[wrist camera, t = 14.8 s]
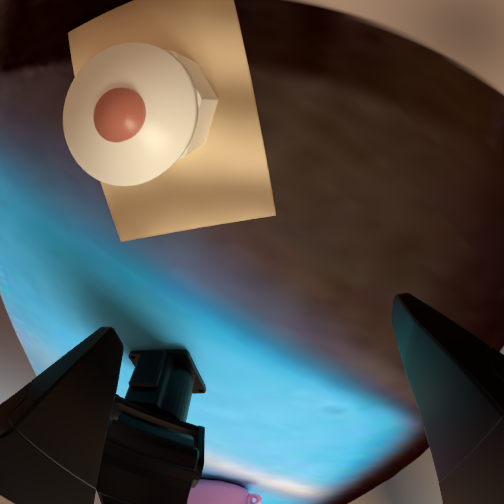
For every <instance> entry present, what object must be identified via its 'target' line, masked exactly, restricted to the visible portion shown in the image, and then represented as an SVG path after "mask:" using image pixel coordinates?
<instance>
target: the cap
mask: <svg viewBox="0 0 504 504" xmlns="http://www.w3.org/2000/svg"><path fill="white" fill-rule="evenodd" d="M217 103H218V98H217V96H216V94H215V93H214V91H213V89H212V87H211V86H210V84H209V82H208V81H207V79H206V77H205V75H204V74H203V72H202V70H201V69H200V67H199V65H198V64H197V63H196V62H194V61H192V60H190V59H188V58H186V57H184V56H182V55H180V54H178V53H176V52H174V51H170V50H164V49H161V48H158V47H156V46H153V45H150V44H145V43H137V42H130V43H122V44H118V45H115V46H112V47H109V48H107V49H105V50H103V51H101V52H100V53H98V54H97V55H95V56H94V57H93V58H91V59H90V60H89V61H88V62H87V63H86V64H85V65H84V66H83V67H82V68H81V70H80V71H79V72H78V73H77V75H76V77H75V78H74V80H73V82H72V84H71V86H70V88H69V90H68V93H67V96H66V100H65V104H64V111H63V128H64V134H65V139H66V142H67V145H68V148H69V150H70V152H71V154H72V156H73V157H74V159H75V160H76V162H77V163H78V164H79V165H80V166H81V168H82V169H83V170H85V171H86V172H87V173H88V174H89V175H91V176H92V177H94V178H95V179H97V180H99V181H101V182H104V183H107V184H110V185H115V186H133V185H138V184H142V183H145V182H147V181H150V180H152V179H154V178H156V177H157V176H159V175H160V174H162V173H163V172H164V171H166V170H167V169H168V168H170V167H171V166H172V165H173V164H174V163H175V162H177V161H178V160H180V159H182V158H183V157H185V156H187V155H188V154H189V153H191V152H192V151H194V150H195V149H196V148H198V147H199V146H201V145H202V144H204V143H205V142H206V140H207V136H208V133H209V129H210V126H211V123H212V119H213V116H214V113H215V109H216V106H217Z"/></svg>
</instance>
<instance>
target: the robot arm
mask: <svg viewBox="0 0 504 504" xmlns="http://www.w3.org/2000/svg"><path fill="white" fill-rule="evenodd" d="M392 324H393V328H394V331H395V335H396V339H397V343H398V346H399V350H400V354H401V359H402V362H403V366H404V369H405V372H406V375H407V377H408V380H409V383H410V386H411V389H412V392H413V395H414V398H415V400H416V404H417V407H418V410H419V413H420V416H421V419H422V422H423V426H424V429H425V432H426V436H427V439H428V443H429V446H430V449H431V453H432V457H433V461H434V465H435V469H436V472H437V477H438V481H439V486H440V491H441V496H442V500H443V504H504V355H503V354H502V353H500V352H499V351H497V350H496V349H494V348H493V347H492V348H491V346H490V345H488V344H487V343H485V342H484V341H482V340H481V339H479V338H478V337H476V336H475V335H473V334H472V333H470V332H469V331H467V330H466V329H464V328H463V327H461V326H460V325H458V324H457V323H455V322H454V321H452V320H450V319H449V318H447V317H446V316H444V315H443V314H441V313H440V312H438V311H436V310H435V309H433V308H432V307H430V306H429V305H427V304H425V303H424V302H422V301H421V300H419V299H417V298H416V297H414V296H412V295H411V294H409V293H402V294H397V295H396V296H395V297H394V302H393V310H392ZM123 350H124V349H123V344H122V342H121V340H120V338H119V337H118V335H117V333H116V332H115V330H114V329H113V328H112V327H101V328H99V329H98V330H97V331H95V332H94V333H93V334H91V335H90V336H89V337H87V338H86V339H85V340H83V341H82V342H81V343H80V344H78V345H77V346H76V347H74V348H73V349H72V350H70V351H69V352H68V353H67V354H65V355H64V356H63V357H61V358H60V359H59V360H57V361H56V362H55V363H54V364H52V365H51V366H50V367H48V368H47V369H46V370H45V371H43V372H42V373H41V374H40V375H38V376H37V377H36V378H35V379H33V380H32V381H31V382H30V383H28V384H27V385H26V386H24V387H23V388H22V389H21V390H19V391H18V392H17V393H15V394H14V395H13V396H11V397H10V398H9V399H7V400H6V401H4V402H3V403H2V404H0V504H94V499H95V493H96V490H97V492H98V495H99V498H100V501H101V503H102V504H187V501H188V496H189V493H190V490H191V488H195V487H196V485H197V484H198V482H199V480H200V477H201V474H202V471H203V466H204V434H205V427H202V426H196V425H193V424H190V423H187V422H186V419H187V414H188V410H189V405H190V400H191V396H192V393H205V392H206V387H205V385H204V383H203V381H202V379H201V377H200V375H199V373H198V371H197V369H196V367H195V365H194V363H193V361H192V359H191V357H190V354H189V353H188V352H187V351H185V350H167V351H131V352H130V353H129V358H130V360H131V361H132V363H133V364H134V366H135V369H134V371H133V374H132V376H131V379H130V381H129V385H130V386H129V388H128V391H127V393H126V396H125V399H124V398H122V397H120V396H119V395H117V394H116V390H117V386H118V380H119V374H120V368H121V362H122V356H123Z"/></svg>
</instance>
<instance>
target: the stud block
mask: <svg viewBox="0 0 504 504" xmlns="http://www.w3.org/2000/svg"><path fill="white" fill-rule="evenodd" d="M68 36H69V44H70V51H71V58H72V64H73V70H74V76H75V77H76V75H77V73H78V72H79V71H80V70H81V68H82V67H83V66H84V65H85V64H86V63H87V62H88V61H89V60H90V59H91V58H93V57H94V56H95V55H97V54H98V53H100V52H101V51H103V50H105V49H107V48H109V47H112V46H115V45H118V44H122V43H130V42H137V43H145V44H150V45H153V46H156V47H158V48H161V49H164V50H170V51H174V52H176V53H178V54H180V55H182V56H184V57H186V58H188V59H190V60H192V61H194V62H196V63H197V64H198V65H199V67H200V69H201V70H202V72H203V74H204V75H205V77H206V79H207V81H208V82H209V84H210V86H211V87H212V89H213V91H214V93H215V94H216V96H217V98H218V103H217V106H216V109H215V113H214V116H213V119H212V123H211V126H210V129H209V133H208V136H207V140H206V142H205V143H204V144H202V145H201V146H199V147H198V148H196V149H195V150H194V151H192V152H191V153H189V154H188V155H187V156H185V157H183V158H182V159H180V160H178V161H177V162H175V163H174V164H173V165H172V166H171V167H170V168H168V169H167V170H166V171H164V172H163V173H162V174H160V175H159V176H157V177H156V178H154V179H152V180H150V181H147V182H145V183H142V184H138V185H133V186H115V185H110V184H107V183H104V182H101V181H100V182H101V185H102V188H103V191H104V194H105V197H106V200H107V203H108V206H109V209H110V212H111V215H112V218H113V221H114V223H115V226H116V229H117V232H118V234H119V237H120V240H121V242H123V241H128V240H133V239H139V238H144V237H149V236H155V235H160V234H166V233H171V232H177V231H183V230H188V229H194V228H200V227H206V226H212V225H218V224H224V223H230V222H236V221H243V220H249V219H255V218H262V217H269V216H275V215H276V211H275V204H274V199H273V193H272V187H271V181H270V176H269V170H268V164H267V159H266V153H265V148H264V142H263V137H262V132H261V126H260V121H259V116H258V111H257V106H256V101H255V96H254V91H253V86H252V81H251V76H250V71H249V66H248V61H247V57H246V52H245V47H244V43H243V38H242V34H241V29H240V25H239V20H238V16H237V11H236V7H235V3H234V0H134V1H131V2H129V3H126V4H124V5H122V6H119V7H117V8H115V9H113V10H111V11H108V12H106V13H104V14H102V15H100V16H98V17H96V18H94V19H92V20H90V21H88V22H87V23H85V24H83V25H81V26H79V27H77V28H76V29H74V30H72V31H70V32H69V33H68Z"/></svg>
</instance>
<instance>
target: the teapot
mask: <svg viewBox="0 0 504 504" xmlns="http://www.w3.org/2000/svg"><path fill="white" fill-rule="evenodd" d="M254 498H256V499H257V500H256V502H255V503H253V502H254ZM260 503H261V497H260V495H258V494H250V493H249V492H248V491H247V490H246V489H245V488H243V487H241V486H238V485H235V484H231V483H227V482H224V481H220V480H204V479H200V480H199V482H198V484H197V485H196V487H195V488H191V490H190V493H189V496H188V501H187V504H260Z"/></svg>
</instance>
